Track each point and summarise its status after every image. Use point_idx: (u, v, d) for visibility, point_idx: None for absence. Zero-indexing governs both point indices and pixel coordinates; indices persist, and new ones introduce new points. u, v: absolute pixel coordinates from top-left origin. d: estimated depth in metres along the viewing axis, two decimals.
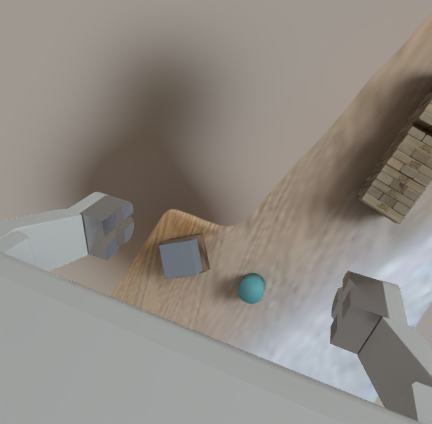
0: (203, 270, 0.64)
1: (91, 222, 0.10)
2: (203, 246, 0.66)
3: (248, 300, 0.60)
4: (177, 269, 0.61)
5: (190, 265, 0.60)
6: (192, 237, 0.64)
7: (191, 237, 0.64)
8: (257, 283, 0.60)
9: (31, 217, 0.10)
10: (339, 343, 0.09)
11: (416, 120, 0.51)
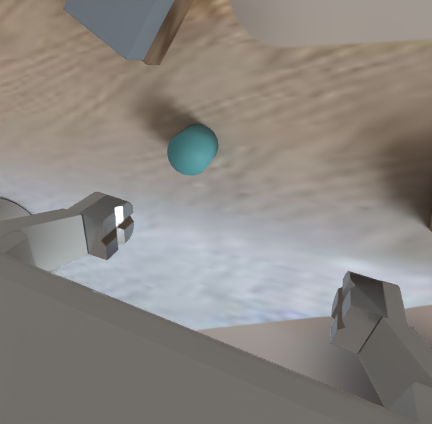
0: (146, 59, 0.32)
1: (91, 222, 0.10)
2: (177, 20, 0.32)
3: (175, 162, 0.35)
4: (98, 16, 0.27)
5: (127, 32, 0.27)
6: None
7: None
8: (206, 153, 0.34)
9: (31, 217, 0.10)
10: (339, 343, 0.09)
11: None
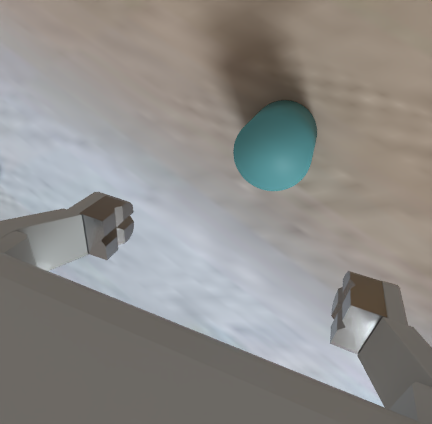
0: None
1: (91, 222, 0.10)
2: None
3: (241, 154, 0.20)
4: None
5: None
6: None
7: None
8: (301, 170, 0.19)
9: (31, 217, 0.10)
10: (339, 343, 0.09)
11: None
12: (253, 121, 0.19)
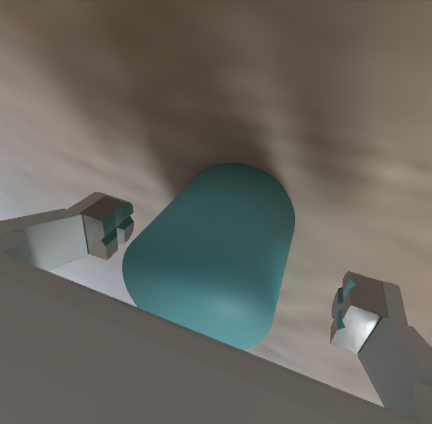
0: None
1: (91, 222, 0.10)
2: None
3: (138, 284, 0.10)
4: None
5: None
6: None
7: None
8: (254, 331, 0.09)
9: (31, 217, 0.10)
10: (339, 343, 0.09)
11: None
12: (148, 234, 0.09)
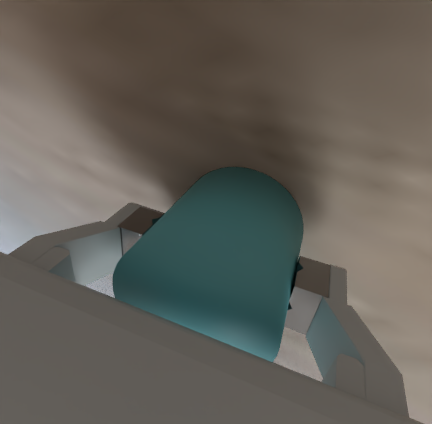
0: None
1: (129, 235, 0.10)
2: None
3: (131, 302, 0.09)
4: None
5: None
6: None
7: None
8: None
9: (70, 231, 0.09)
10: (288, 324, 0.09)
11: None
12: (140, 249, 0.08)
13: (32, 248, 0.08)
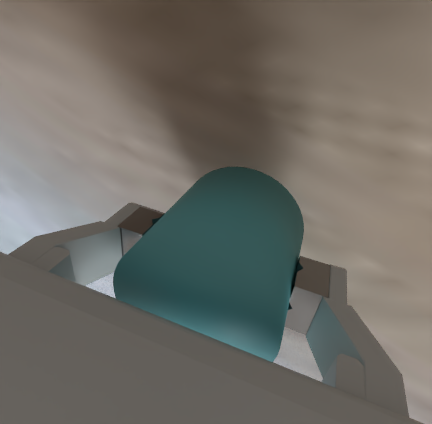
0: None
1: (129, 235, 0.10)
2: None
3: (131, 302, 0.09)
4: None
5: None
6: None
7: None
8: None
9: (70, 231, 0.09)
10: (288, 324, 0.09)
11: None
12: (140, 248, 0.08)
13: (32, 248, 0.08)
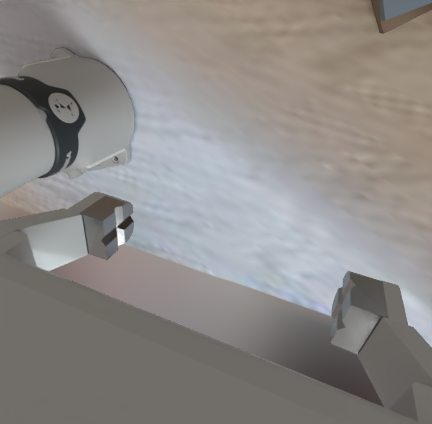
0: (387, 27, 0.28)
1: (91, 222, 0.10)
2: None
3: None
4: None
5: None
6: None
7: None
8: None
9: (31, 217, 0.10)
10: (339, 343, 0.09)
11: None
12: None
13: None
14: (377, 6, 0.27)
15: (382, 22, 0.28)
